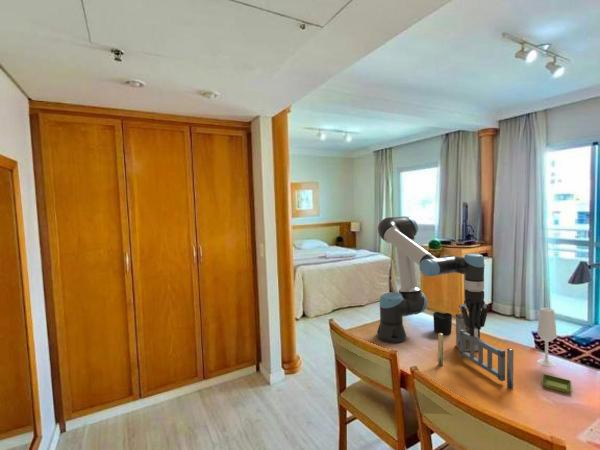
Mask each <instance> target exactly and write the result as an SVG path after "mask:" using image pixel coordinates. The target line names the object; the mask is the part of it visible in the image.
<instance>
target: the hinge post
mask: <svg viewBox="0 0 600 450" xmlns="http://www.w3.org/2000/svg"><path fill="white" fill-rule="evenodd" d="M506 357H507V358H506V388H507V389H509V390H513V389H514V349H513V348H507V351H506Z"/></svg>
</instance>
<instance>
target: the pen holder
mask: <svg viewBox="0 0 600 450" xmlns="http://www.w3.org/2000/svg"><path fill="white" fill-rule="evenodd" d="M432 315H433V316H432V317H433V332H434V333H436V334H438V333H442V334H443V336H448V335H451V333H452V322H453V315H452V313H449V312H443V313H442V312H439V311H435V312H433V313H432Z"/></svg>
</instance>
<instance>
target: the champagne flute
mask: <svg viewBox="0 0 600 450" xmlns="http://www.w3.org/2000/svg"><path fill="white" fill-rule="evenodd" d="M536 333H537V335H538V337H540V339H541V340H543V341H544V358H540V359H538V360H536V363H537V364H539V365H541V366H544V367H548V368H553V367H557V364H556V363H555V362H553V361H552V360H551V359H549V342H552V341H554V340H555V339H556V338H557V325H556V315H555V309H553V308H550V307H541V308H540V310H539V318H538V325H537V332H536Z"/></svg>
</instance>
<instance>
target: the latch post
mask: <svg viewBox="0 0 600 450" xmlns="http://www.w3.org/2000/svg"><path fill="white" fill-rule="evenodd" d="M437 341H438V342H437V344H438V345H437V347H438V349H437V351H438V355H437V356H438V357H437V358H438V359H437V360H438V361H437V362H438V366H441V367H442V366H444V335H443V334H442V333H437Z"/></svg>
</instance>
